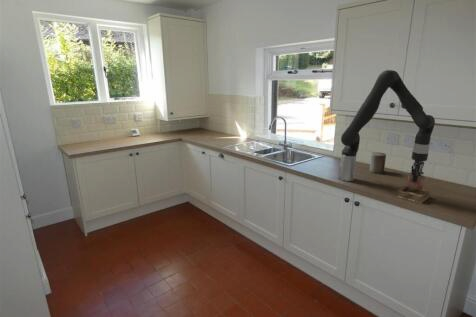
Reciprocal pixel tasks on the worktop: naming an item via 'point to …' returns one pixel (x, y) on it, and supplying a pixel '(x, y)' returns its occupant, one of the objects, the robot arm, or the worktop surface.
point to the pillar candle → (377, 162)
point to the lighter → (418, 183)
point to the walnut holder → (413, 194)
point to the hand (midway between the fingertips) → (415, 180)
